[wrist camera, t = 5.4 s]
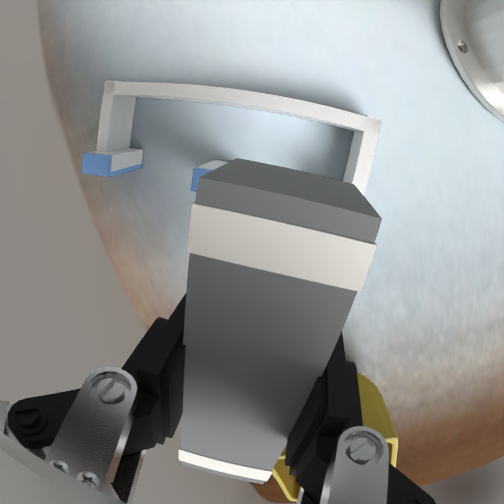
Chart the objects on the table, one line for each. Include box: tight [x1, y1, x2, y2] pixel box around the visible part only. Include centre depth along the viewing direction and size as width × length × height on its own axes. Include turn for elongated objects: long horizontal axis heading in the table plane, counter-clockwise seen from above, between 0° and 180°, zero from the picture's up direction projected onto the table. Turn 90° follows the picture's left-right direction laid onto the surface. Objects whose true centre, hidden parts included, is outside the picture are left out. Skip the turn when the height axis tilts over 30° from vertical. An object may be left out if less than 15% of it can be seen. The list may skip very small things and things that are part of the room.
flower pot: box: [272, 373, 398, 501], centre depth 21 cm, size 9×9×9 cm
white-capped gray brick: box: [179, 158, 382, 484], centre depth 9 cm, size 11×4×4 cm, turn 170°
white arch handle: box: [82, 80, 382, 196], centre depth 16 cm, size 6×16×4 cm, turn 80°
